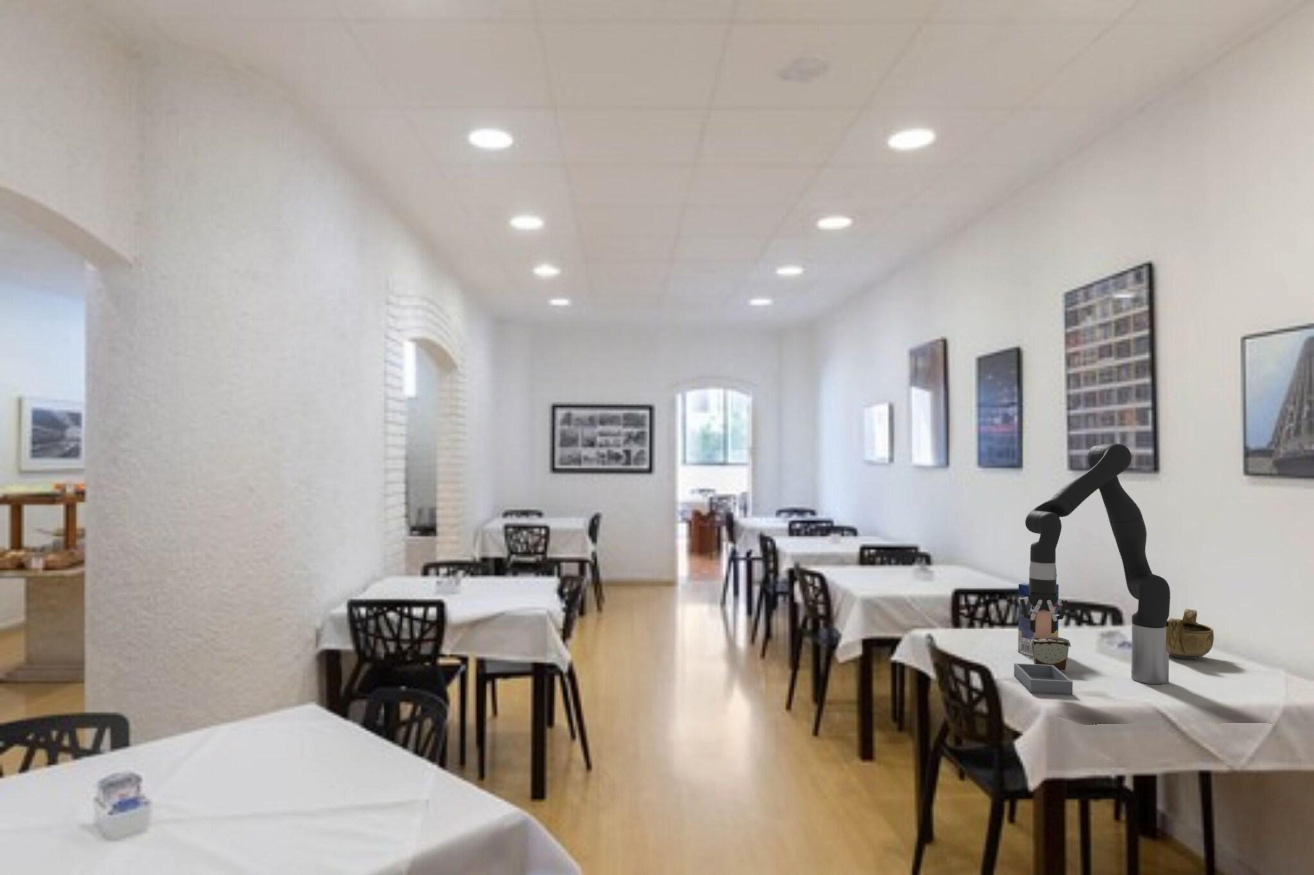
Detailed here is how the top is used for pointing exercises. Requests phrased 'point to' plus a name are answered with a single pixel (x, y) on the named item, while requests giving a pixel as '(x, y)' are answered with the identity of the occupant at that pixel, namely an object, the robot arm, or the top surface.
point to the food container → (1051, 651)
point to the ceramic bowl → (1188, 637)
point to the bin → (1043, 679)
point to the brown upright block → (1043, 625)
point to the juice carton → (1023, 623)
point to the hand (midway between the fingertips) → (1042, 632)
